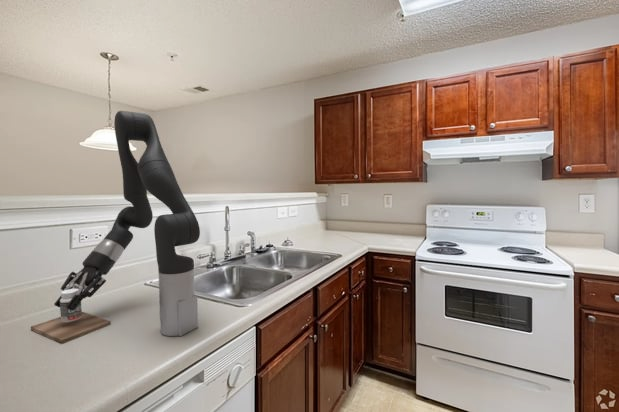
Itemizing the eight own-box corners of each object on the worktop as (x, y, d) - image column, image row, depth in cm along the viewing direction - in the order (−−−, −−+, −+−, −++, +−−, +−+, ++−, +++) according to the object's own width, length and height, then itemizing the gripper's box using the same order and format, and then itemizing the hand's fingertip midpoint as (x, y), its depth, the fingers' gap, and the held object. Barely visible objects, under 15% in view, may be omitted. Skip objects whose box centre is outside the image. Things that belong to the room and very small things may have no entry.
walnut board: (110, 324, 85) (110, 321, 85) (61, 343, 75) (61, 340, 75) (79, 313, 93) (79, 310, 93) (30, 330, 82) (30, 326, 82)
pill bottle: (70, 323, 81) (68, 294, 81) (56, 321, 82) (54, 293, 81) (86, 315, 86) (84, 288, 85) (73, 314, 87) (71, 287, 86)
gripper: (80, 248, 92) (36, 298, 82) (110, 252, 87) (67, 306, 77) (98, 260, 97) (59, 309, 87) (128, 264, 92) (90, 317, 82)
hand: (63, 307), depth 82 cm, fingers closed on pill bottle, 4 cm apart
